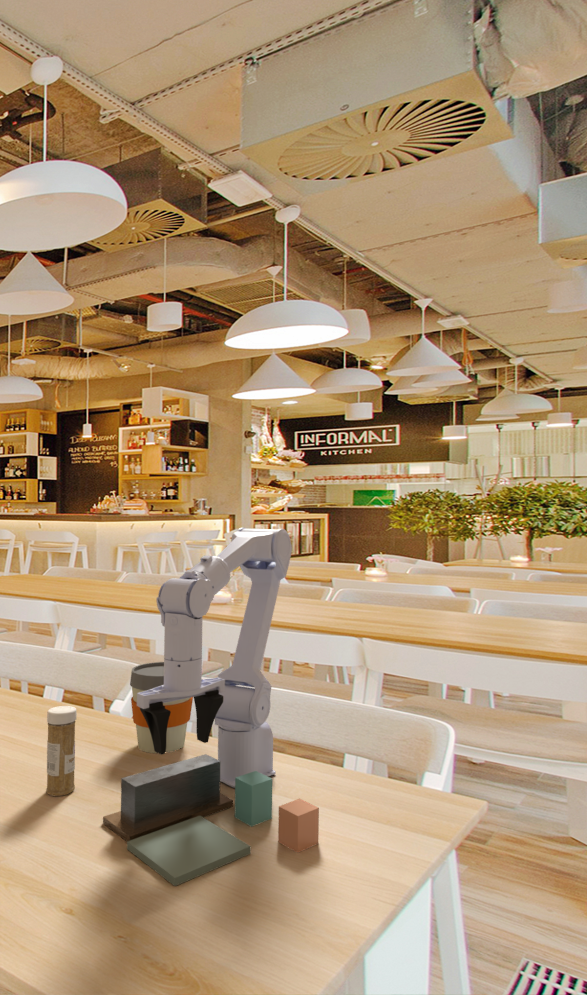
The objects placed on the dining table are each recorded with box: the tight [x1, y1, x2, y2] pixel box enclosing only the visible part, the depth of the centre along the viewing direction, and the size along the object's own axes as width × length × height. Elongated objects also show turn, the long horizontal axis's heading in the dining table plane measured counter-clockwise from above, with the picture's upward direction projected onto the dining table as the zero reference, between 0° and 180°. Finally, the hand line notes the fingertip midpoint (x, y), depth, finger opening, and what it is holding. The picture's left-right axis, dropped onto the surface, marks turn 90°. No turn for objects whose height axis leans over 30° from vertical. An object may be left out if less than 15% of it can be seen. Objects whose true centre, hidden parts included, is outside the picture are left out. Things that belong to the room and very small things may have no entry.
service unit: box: [102, 753, 234, 843], centre depth 102 cm, size 18×8×7 cm, turn 133°
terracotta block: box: [277, 797, 320, 854], centre depth 94 cm, size 4×4×5 cm
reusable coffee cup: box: [129, 661, 194, 754], centre depth 132 cm, size 13×13×15 cm
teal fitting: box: [234, 771, 273, 828], centre depth 101 cm, size 4×4×6 cm
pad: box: [126, 816, 251, 887], centre depth 91 cm, size 12×12×1 cm
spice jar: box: [45, 705, 78, 797], centre depth 110 cm, size 5×5×14 cm
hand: (181, 746), depth 102 cm, fingers open, 7 cm apart
